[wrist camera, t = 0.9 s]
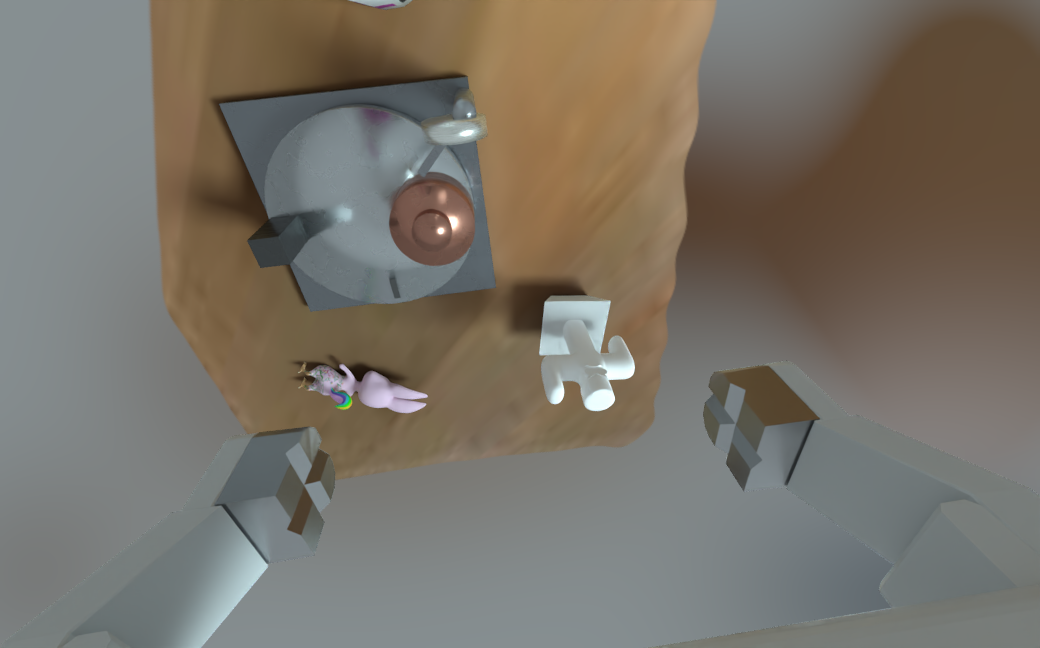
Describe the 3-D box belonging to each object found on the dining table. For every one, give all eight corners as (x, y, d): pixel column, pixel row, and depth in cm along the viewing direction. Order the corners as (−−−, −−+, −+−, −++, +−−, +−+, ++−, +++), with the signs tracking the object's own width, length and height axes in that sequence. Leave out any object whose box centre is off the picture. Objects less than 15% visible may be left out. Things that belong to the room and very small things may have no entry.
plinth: (224, 102, 35) (218, 104, 34) (467, 76, 36) (467, 77, 35) (313, 306, 46) (310, 311, 45) (495, 283, 47) (495, 287, 46)
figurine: (600, 335, 53) (642, 426, 41) (525, 336, 52) (545, 431, 39) (610, 284, 49) (660, 369, 36) (529, 284, 48) (553, 372, 35)
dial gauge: (412, 92, 35) (396, 112, 26) (479, 85, 35) (484, 103, 26) (425, 155, 38) (414, 192, 29) (487, 148, 38) (494, 182, 29)
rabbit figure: (310, 382, 54) (426, 408, 55) (285, 415, 49) (414, 443, 50) (310, 343, 51) (433, 372, 52) (284, 375, 46) (421, 406, 47)
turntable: (235, 116, 34) (190, 133, 29) (457, 92, 35) (456, 104, 29) (315, 303, 45) (294, 343, 39) (485, 282, 45) (488, 318, 40)
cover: (386, 176, 36) (376, 195, 32) (467, 167, 37) (468, 184, 32) (405, 251, 40) (399, 277, 36) (478, 242, 41) (480, 266, 36)
